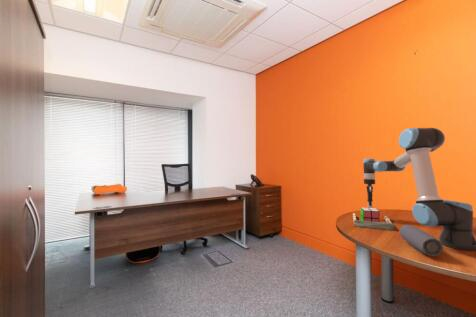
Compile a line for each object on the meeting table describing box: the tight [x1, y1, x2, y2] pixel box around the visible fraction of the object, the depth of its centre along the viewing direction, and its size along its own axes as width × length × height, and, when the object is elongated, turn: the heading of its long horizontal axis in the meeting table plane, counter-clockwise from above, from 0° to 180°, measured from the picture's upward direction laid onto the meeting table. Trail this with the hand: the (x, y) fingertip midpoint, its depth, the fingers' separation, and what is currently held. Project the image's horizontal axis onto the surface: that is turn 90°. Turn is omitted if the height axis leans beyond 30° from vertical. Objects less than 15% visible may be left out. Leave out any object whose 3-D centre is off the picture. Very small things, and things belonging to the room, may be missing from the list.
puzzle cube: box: [360, 207, 381, 222], centre depth 166 cm, size 10×10×10 cm
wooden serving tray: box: [352, 212, 395, 231], centre depth 167 cm, size 30×23×4 cm
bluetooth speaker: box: [398, 224, 444, 257], centre depth 118 cm, size 23×9×10 cm, turn 168°
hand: (370, 209), depth 177 cm, fingers closed
